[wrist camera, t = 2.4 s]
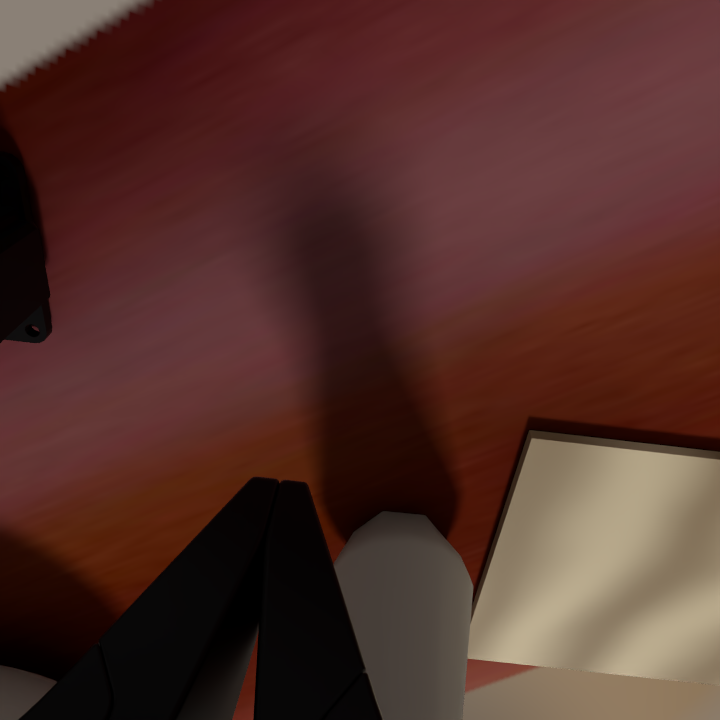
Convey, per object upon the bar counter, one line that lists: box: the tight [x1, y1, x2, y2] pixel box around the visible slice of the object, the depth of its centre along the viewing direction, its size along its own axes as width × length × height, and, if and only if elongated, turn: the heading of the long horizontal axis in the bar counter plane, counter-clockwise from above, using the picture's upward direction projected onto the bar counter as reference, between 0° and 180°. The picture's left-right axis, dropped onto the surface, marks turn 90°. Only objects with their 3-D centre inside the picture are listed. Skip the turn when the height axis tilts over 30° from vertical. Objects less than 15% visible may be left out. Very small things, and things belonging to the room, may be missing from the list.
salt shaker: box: [334, 511, 473, 720], centre depth 21 cm, size 6×6×13 cm
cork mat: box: [467, 430, 720, 685], centre depth 27 cm, size 14×14×1 cm
